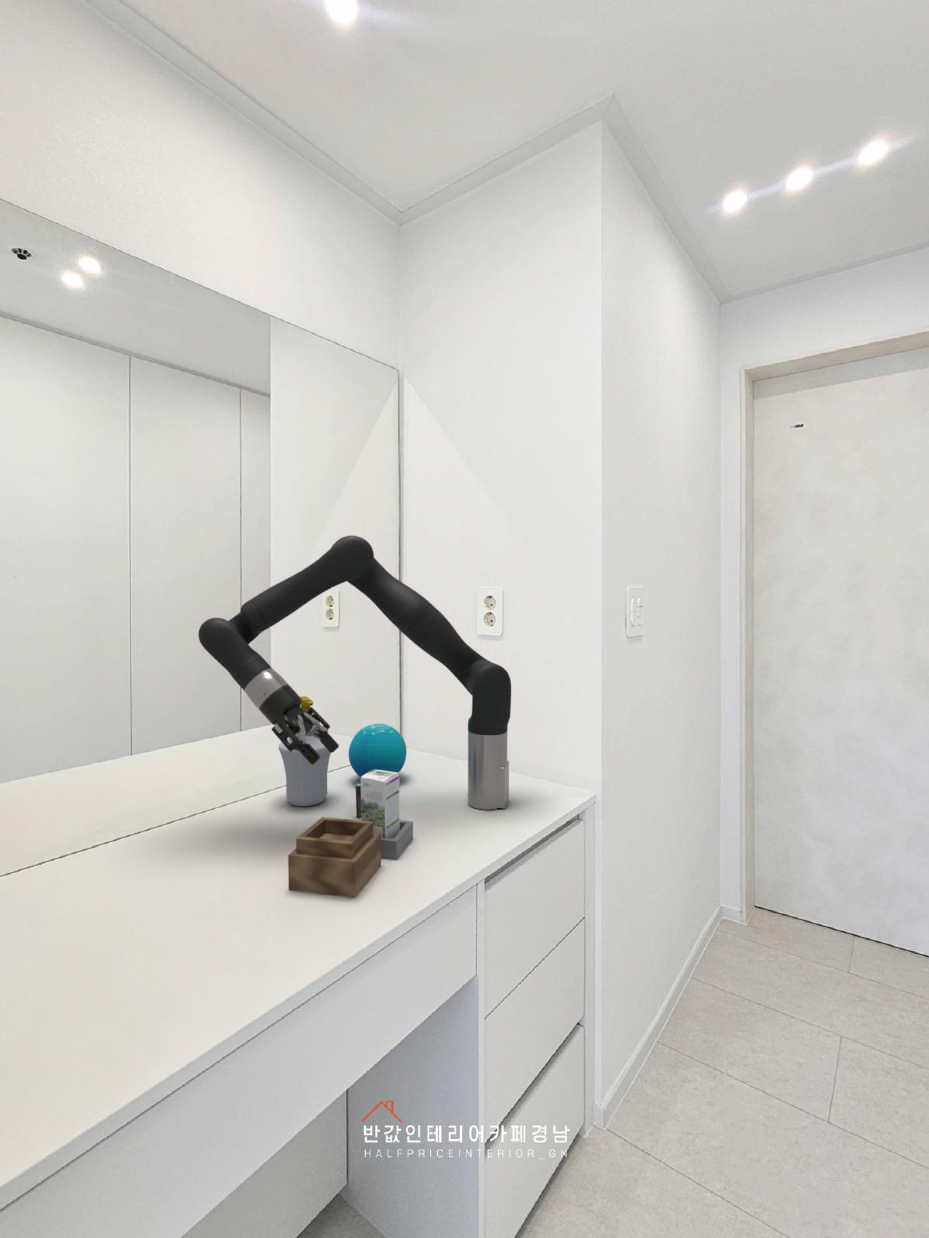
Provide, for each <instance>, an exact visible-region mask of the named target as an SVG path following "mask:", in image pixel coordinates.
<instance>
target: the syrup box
mask: <svg viewBox="0 0 929 1238" xmlns="http://www.w3.org/2000/svg"><path fill="white" fill-rule="evenodd" d="M360 780H361V818H360V821H372V822H373V828H374V833H381V838H392V839H393V838H394V837H395V836H396V835H397V834H398V832H399V831H400V820H401V819H400V814H401V813H400V772H399V773H397V772H390V771H383V770H376V769H375V770H372V771H370V772H368V773H366V774H365V775H363V776H362V777H360Z"/></svg>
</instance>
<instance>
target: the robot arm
mask: <svg viewBox="0 0 929 1238" xmlns="http://www.w3.org/2000/svg"><path fill="white" fill-rule="evenodd" d="M346 582H347V583H348V584H350V585H351V586H353V587H354V588H355V589H357V590H358V591H360V593H362V594H363V595H364V596H366V597H367V599H369V600H370V601H371V602H372V603H373V604H374V605H375V606H376V607H377V609H378V610H380V612H381V613H382V614H383V615H384V616H385V617H386V618H387V619H388V620H389V621H390V622H391V623H392V624H393V626H394V627H396V628H397V629H398V630H399V631H400V633H402V634H403V635H404V636H406V638H408V640H410V641H411V642H412V643H413V644H414V645H415V646H417V647H418V648H419V649H421V650H422V651H423V652H425V653H426V654H427V655H429V656H430V657H432V658H433V659H435V660H436V661H438V662H439V663H441V665H443V666H444V667H445V668H446V669H447V670H448V671H449V672H450V673H451V674H452V675H453V676H454V678H456V680H458V682H459V683H460V684H461V685H462V686H463V687H464V688H465V690H466V691H467V692H468V693H469V694H470V695H471V697H472V698H471V700H472V701H471V715H470V717H469V718H468V720H467V804H468V805H469V806H470V807H471V808H474V809H476V810H477V809H478V810H485V811H487V810H488V811H491V810H492V809H493V810H498V809H497V808H505V809H506V807H507V805H508V803H509V801H508V800H510V784H509V783H510V762H509V760H508V729H509V728H508V724H509V721H510V719H511V709H512V707H511V706H512V681H511V677H510V674H509V672H508V671H507V670H506V669H505V668H504V667H503V666H502V665H499V664H498V663H495V662H492V661H490V660H488V659H487V658H485V657H484V656H482V655H481V654H480V653H478V652H477V651H476V650H475V649H474V648H472V647H471V646H469V645H468V644H467V642H465V641H464V640H463V639H462V637H461V636H460V635H459V633H458V632H457V630H456V628H455V627H454V625H452V623H451V622H450V621H449V620H448V618H447V617H446V616H445V615H444V614H443V613H442V612H441V611H440V610H439V609H437V607H435V606H434V605H433V603H431V602H430V600H427V599H426V598H425V597H424V596H423V595H421V594H420V593H419V592H418V591H416V590H415V589H413V588H412V587H410V586H408V585H407V584H406V583H404V582H402V581H401V580H399V579H397V577H395V576H393V575H392V574H391V573H390V572H389V571H388V570H386V568H385V567H384V566H383V565H382V564H381V563H380V562H379V561H378V560H377V558H375V553H374V548H373V547H372V544H370V542H369V541H368V540H366V538H365V539H364V537H361V536H359V535H354V534H353V535H346V536H342V537H341V538H339V539H338V540H336V541H335V542H334V543H333V544H332V545H331V547H330V548H329V550H327V551H326V552H325V553H324V554H323V555H321V556H320V557H319V558H317V559H316V560H315V561H314V562H312V563H311V564H310V565H307V567H305V568H303V569H302V570H300V571H299V572H297V573H295V574H293V575H291V576H289V577H287V578H286V579H284V580H281V581H280V582H278V583H276V584H274V585H272V586H270V587H268V588H267V589H266V590H263V591H262V592H260V593H259V594H257V595H255V596H253V597H252V598H251V599H249V600H248V601H246V602H244V603H243V604H242V605H241V606H240V610H239V613H237V614H235V615H234V616H233V617H232V618H230V619H229V620H227V619H226V618H222V617H211V618H208V619H206V620H205V621H204V622H203V623H202V624H201V625H200V627H199V630H198V640H199V642H200V644H201V646H202V647H203V649H204V650H205V651H206V652H207V653H208V654H209V656H211V657H212V658H213V659H214V660H216V661H217V662H218V664H220V666H222V667H223V668H224V669H225V670H226V671H227V672H228V674H229V675H230V677H232V679H233V680H234V682H235V683H236V684H238V685H239V687H240V688H241V689H242V690H243V691H244V693H245V694H246V695H247V697H248V699H250V701H251V703H252V704H254V706H255V707H256V708H257V709H258V710H259V711H260V713H261V714H262V715H263V716H264V717H265V718H266V719H267V720H268V721H269V723H270V724H272V725H273V727H271V731H272V732H273V733H274V734H275V736H276V737H277V738H278V739H279V741H280V743H281V742H282V743H283V744H284V745H285V747H286V748H287V749H288V750H289V751H293V750H296V751H300V752H301V754H302V755H303V756H304V757H305V758H306V759H307V760H308V761H309V762H310V764H315V763H316V762H317V761H318V760H319V759H320V755H319V754H318V753H317V752H316V751H315V750H314V749H313V747H312V746H311V745H310V744H309V743H307V740H306V737H305V735H308V736H314V737H316V738H318V739H321V740H320V742H321V743H322V744H323V745H324V746H325V747H326V748H327V749H328V751H329V752H330V753H331V754H333V753H335V751H336V750H337V749H339V746H340V745H339V743H338V742H337V741H336V740H335V739H334V738H333V737H332V735H331V734H330V733H329V729H331V725H330V724H329V723H328V722H327V721H326V720H325V719H324V718H323V717H322V715H321V714H319V713H318V712H317V710H316V709H315V708H313V707H312V706H310V708H309V709H308V710H307V711H304V710H303V709H302V708H301V703H302V699H301V697H302V696H300V695H299V694H298V693H297V691H295V690H294V689H293V687H292V686H291V685H290V684H289V683H288V682H287V680H285V678H284V677H283V676H282V675H280V673H278V672H277V671H276V670H275V669H274V668H272V667H273V666H271V665H270V664H269V663H268V662H267V660H265V658H264V657H263V656H262V655H261V654H260V653H258V651H256V650H254V649H253V648H252V647H251V646H250V643H252V642H253V641H254V640H255V639H256V638H257V637H258V636H259V635H260V634H262V633H263V632H264V631H266V630H268V629H269V628H271V627H273V626H275V625H277V624H278V623H280V622H281V621H283V620H285V619H286V618H287V617H289V616H290V615H292V614H293V613H294V612H297V610H299V609H300V608H302V607H303V606H305V605H306V604H308V603H309V602H310V601H313V599H315V598H317V597H318V596H319V595H321V594H323V593H325V592H327V591H329V590H330V589H333V588H334V587H337V586H338V585H341V584H344V583H346ZM315 731H317V732H318V733H317V732H315ZM287 739H289V740H290V742H291V744H290V743H289V742H288V740H287ZM306 743H307V744H306ZM507 802H508V803H507ZM506 804H507V805H506Z"/></svg>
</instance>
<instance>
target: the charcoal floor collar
mask: <svg viewBox="0 0 929 1238" xmlns="http://www.w3.org/2000/svg"><path fill="white" fill-rule="evenodd" d="M413 839H414V821H413V820H404V819H403V820H401V819H400V831H399V832H398V834H397V835H396V836H395V837H394V838H393V839H392V838H381V859H389V860H398V859H399V858H400V856H401V855H402V853H403V852H404V851H405V850H406V848H407V847H408V845H409V844H410V843H411V841H412V840H413Z"/></svg>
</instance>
